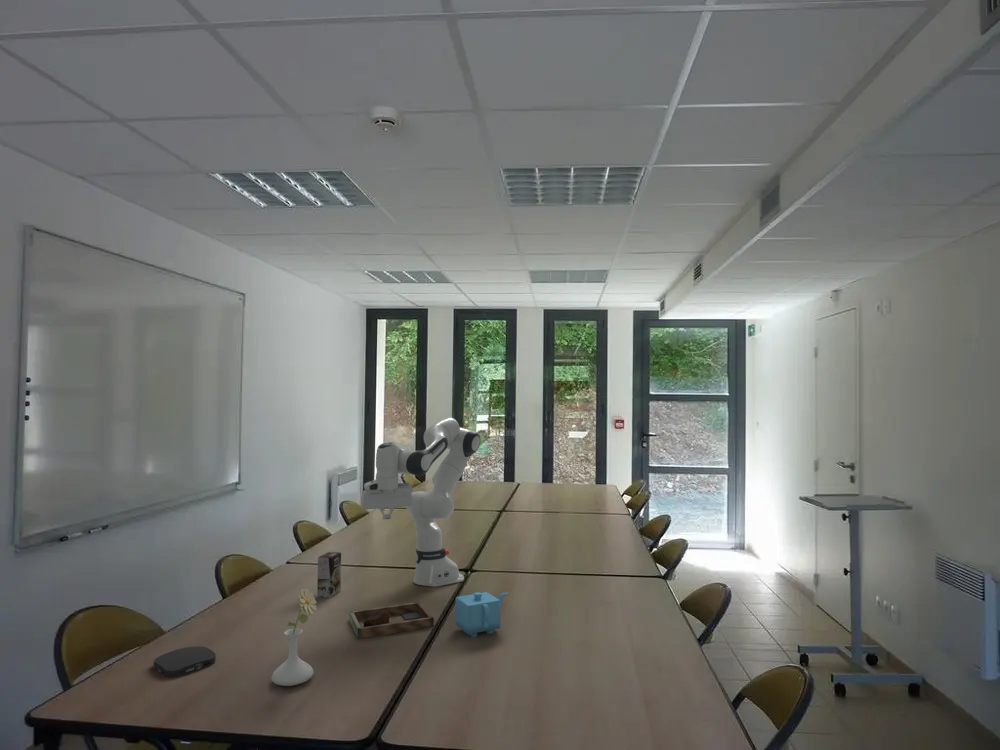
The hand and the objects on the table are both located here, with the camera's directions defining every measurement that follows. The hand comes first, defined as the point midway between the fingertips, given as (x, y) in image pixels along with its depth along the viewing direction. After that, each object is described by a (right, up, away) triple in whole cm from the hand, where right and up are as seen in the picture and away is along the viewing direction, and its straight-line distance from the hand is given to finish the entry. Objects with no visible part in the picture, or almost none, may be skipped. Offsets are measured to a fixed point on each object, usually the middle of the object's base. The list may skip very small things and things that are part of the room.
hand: (386, 519), depth 236 cm
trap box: (+6, -32, -22) cm, 39 cm away
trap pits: (+13, -32, -19) cm, 40 cm away
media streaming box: (-51, -31, -55) cm, 81 cm away
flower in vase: (-14, -31, -65) cm, 73 cm away
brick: (+1, -32, -26) cm, 41 cm away
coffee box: (-26, -34, +11) cm, 44 cm away
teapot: (+40, -32, -28) cm, 58 cm away
